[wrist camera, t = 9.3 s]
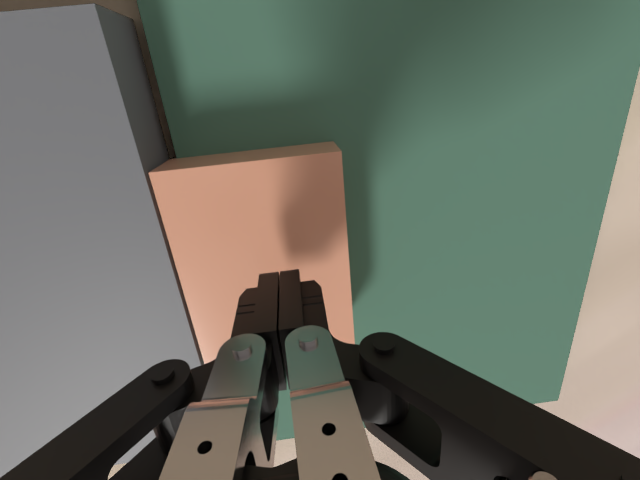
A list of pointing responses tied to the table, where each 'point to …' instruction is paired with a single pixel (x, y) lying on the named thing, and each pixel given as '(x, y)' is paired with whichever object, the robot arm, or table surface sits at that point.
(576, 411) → the table surface
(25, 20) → the gray riser
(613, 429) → the table surface
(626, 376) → the table surface
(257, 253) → the coral tile
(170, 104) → the green mat
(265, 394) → the robot arm
